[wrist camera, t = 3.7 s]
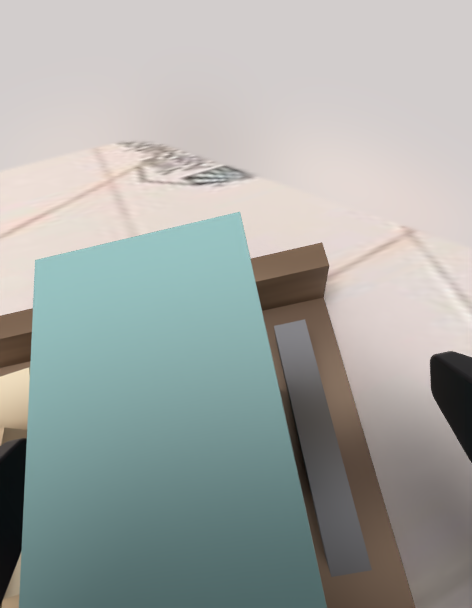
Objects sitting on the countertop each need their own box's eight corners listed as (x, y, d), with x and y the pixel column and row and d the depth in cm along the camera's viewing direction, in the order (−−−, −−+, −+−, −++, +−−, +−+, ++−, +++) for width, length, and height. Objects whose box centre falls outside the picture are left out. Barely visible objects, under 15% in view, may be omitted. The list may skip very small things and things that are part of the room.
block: (303, 497, 14) (336, 655, 3) (236, 509, 14) (14, 705, 3) (279, 388, 15) (239, 211, 4) (219, 400, 15) (35, 260, 4)
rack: (417, 629, 12) (514, 765, 7) (-30, 700, 14) (-252, 866, 8) (316, 285, 18) (326, 206, 12) (-2, 355, 19) (-125, 312, 13)
